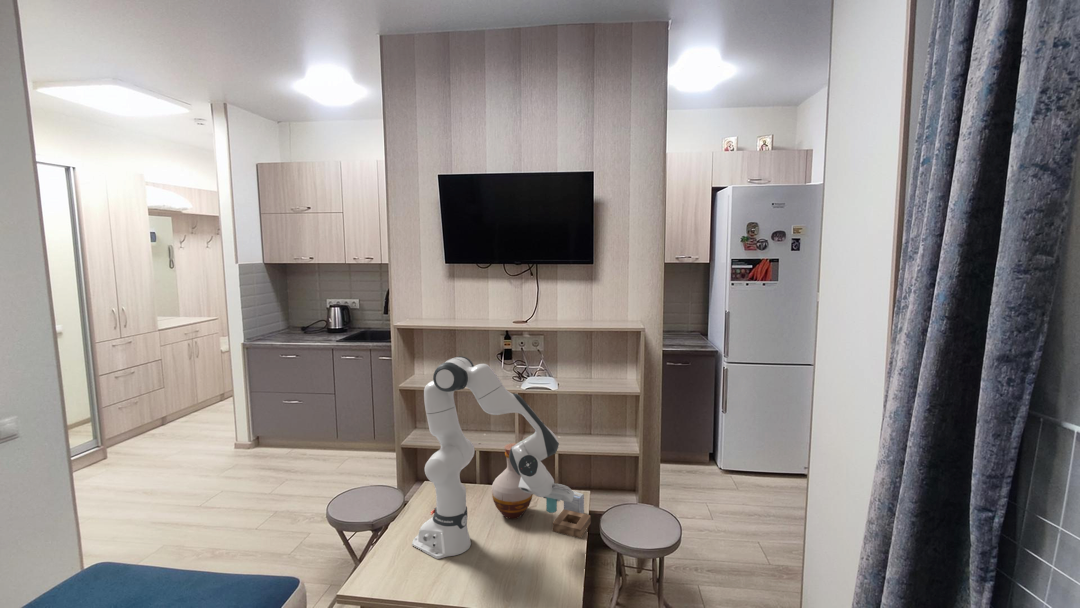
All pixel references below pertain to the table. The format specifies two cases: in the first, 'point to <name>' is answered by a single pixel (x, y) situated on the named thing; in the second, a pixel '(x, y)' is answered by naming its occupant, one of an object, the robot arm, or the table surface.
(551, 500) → the peg
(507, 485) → the jug
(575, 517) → the socket block
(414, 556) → the table surface
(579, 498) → the medicine box
